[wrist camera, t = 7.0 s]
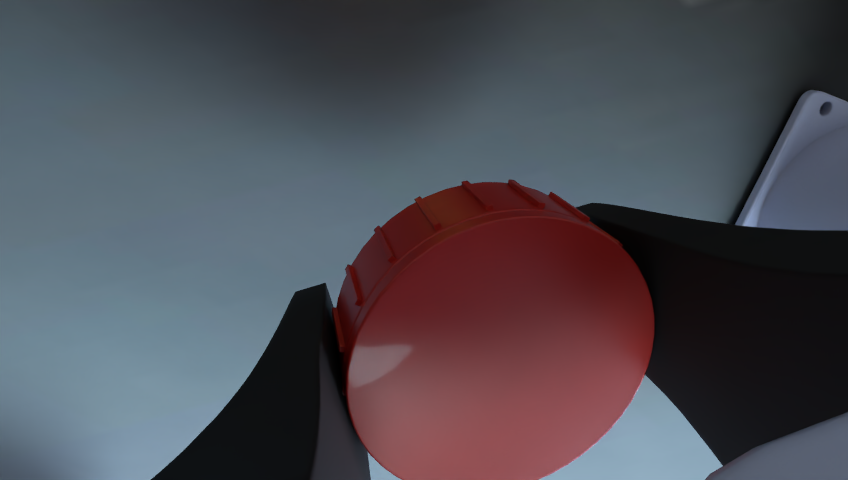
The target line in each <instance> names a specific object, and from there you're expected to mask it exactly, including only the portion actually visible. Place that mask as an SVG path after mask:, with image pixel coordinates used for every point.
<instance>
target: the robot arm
mask: <svg viewBox="0 0 848 480" xmlns="http://www.w3.org/2000/svg"><path fill="white" fill-rule="evenodd" d="M822 105H823V106H822ZM821 106H822V109H821V110H820V108H821ZM576 209H578V210H579V211H581V212H582V213H584V214H585V215H587V216H588V217H589V218H590V220H589V221H590V222H592V223H593V224H595V225H596V226H598V227H599V228H600V229H602V230H603V231H605V232H606V233H608V234H609V235H610V236H612V237H613V238H615V239H616V240H618V241H619V242H620V243H621V244H622V245H623V246H622V248H623V249H624V250H625V251H626V252H627V253H628V254H629V255H630V256H631V258H632V259H633V260H634V262H635V263H636V264H637V266H638V267H639V269H640V271H641V273H642V275H643V277H644V279H645V281H646V283H647V286H648V289H649V292H650V295H651V298H652V304H653V310H654V340H653V348H652V353H651V357H650V360H649V364H648V368H647V370H646V373H645V375H646V376H647V377H648V378H649V379H650V380H651V381H652V382H653V383H654V384H655V385H656V386H657V387H658V388H659V389H660V390H661V391H662V392H663V393H664V394H665V395H666V396H667V397H668V398H669V399H670V400H671V402H672V403H673V404H674V405H675V406H676V407H677V408H678V409H679V410H680V411H681V413H682V414H683V415H684V416H685V418H686V419H687V420H688V421H689V423H690V424H691V425H692V426H693V428H694V429H695V430H696V432H697V433H698V434H699V435H700V437H701V438H702V439H703V440H704V442H705V443H706V444H707V445H708V447H709V448H710V449H711V450H712V452H713V453H714V454H715V456H716V457H717V458H718V460H719V461H720V462H721V464H722V465H723V467H721V468H719V469H718V470H716V471H714V472H713V473H711V474H710V475H709V476H708V477H707V478H706V479H705V480H848V102H847V101H844V100H842V99H840V98H837V97H835V96H832V95H830V94H827V93H825V92H822V91H816V90H809V91H806V92H805V93H804V94H803V95H802V96H801V97H800V99H799V100H798V102H797V104H796V106H795V108H794V110H793V112H792V114H791V116H790V118H789V120H788V122H787V124H786V126H785V128H784V130H783V132H782V133H781V135H780V137H779V139H778V141H777V143H776V145H775V147H774V149H773V151H772V153H771V155H770V157H769V159H768V161H767V163H766V165H765V167H764V169H763V171H762V173H761V175H760V177H759V179H758V180H757V182H756V184H755V186H754V188H753V190H752V192H751V194H750V196H749V198H748V200H747V202H746V204H745V206H744V208H743V210H742V212H741V214H740V216H739V218H738V220H737V222H736V224H735V225H731V224H724V223H716V222H709V221H702V220H696V219H690V218H683V217H678V216H672V215H667V214H661V213H656V212H650V211H645V210H640V209H634V208H629V207H623V206H617V205H610V204H601V203H590V204H586V205H583V206H580V207H576ZM332 307H333V304H332V301H331V298H330V295H329V292H328V289H327V286H326V283H323V284H320V285H317V286H313V287H310V288H307V289H303V290H300V291H297V292H295V294H294V296H293V297H292V299H291V301H290V303H289V305H288V308H287V310H286V312H285V314H284V316H283V318H282V320H281V322H280V324H279V326H278V328H277V330H276V332H275V333H274V335H273V337H272V339H271V341H270V343H269V344H268V346H267V348H266V350H265V352H264V353H263V355H262V356H261V358H260V360H259V361H258V363H257V364H256V366H255V367H254V369H253V371H252V372H251V374H250V375H249V377H248V378H247V379H246V381H245V382H244V384H243V385H242V386H241V388H240V389H239V390H238V391H237V393H236V394H235V395H234V396H233V398H232V399H231V400H230V401H229V403H228V404H227V405H226V406H225V407H224V409H223V410H222V411H221V412H220V413H219V414H218V416H217V417H216V418H215V419H214V420H213V421H212V422H211V423H210V424H209V425H208V426H207V427H206V428H205V429H204V430H203V431H202V432H201V433H200V434H199V435H198V436H197V437H196V438H195V439H194V440H193V441H192V442H191V443H190V445H189V446H188V447H187V448H186V449H185V450H184V451H183V452H182V453H180V454H179V455H178V456H177V457H176V458H175V459H174V460H173V461H172V462H171V463H169V464H168V465H167V466H166V467H165V468H164V469H163V470H162V471H161V472H159V473H158V474H157V475H156V476H155V477H154V478H152V479H151V480H371V478H370V470H369V461H368V453H367V449H366V448H365V447H364V445H363V444H362V443H361V441H360V439H359V437H358V435H357V433H356V431H355V429H354V427H353V425H352V422H351V418H350V415H349V412H348V408H347V403H346V396H344V395H343V392H342V374H341V368H340V361H339V355H338V349H337V341H336V334H335V329H334V323H333V318H332V313H331V312H332Z"/></svg>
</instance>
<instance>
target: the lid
mask: <svg viewBox="0 0 848 480" xmlns="http://www.w3.org/2000/svg"><path fill="white" fill-rule="evenodd" d="M415 201H416V203H414V204H412V205H410V206H408V207H407V208H405V209H404V210H402V211H401V212H400V213H398V214H397V215H395V216H394V217H393V218H391V219H390V220H389V221H388V222H387V223H386V224H385V225H383V226H382V227H380V226H377V227H376V228H375V229H374V231H375V234H374V235H373V236H372V237H371V239H370V240H369V241H368V242H367V243H366V244H365V246H364V247H363V248H362V250H361V251H360V253H359V254H358V256H357V257H356V259H355V260H354V262H353V263H352V265H347V267H346V269H345V270H346V274H347V275H346V278H345V280H344V282H343V285H342V288H341V291H340V294H339V297H338V302H337V308H335V307H332V312H331V313H332V318H333V323H334V329H335V334H336V341H337V349H338V355H339V361H340V368H341V374H342V392H343V395H344V396H346V403H347V408H348V412H349V415H350V418H351V422H352V425H353V427H354V429H355V431H356V433H357V435H358V437H359V439H360V441H361V443H362V444H363V445H364V447H365V448H366V449H367V451H368V452H369V454H370V455H371V456H372V457H373V458H374V459H375V460H376V461H377V462H378V463H379V464H380V465H381V466H382V467H384V468H385V469H386V470H388V471H389V472H391V473H392V474H393V475H395V476H396V477H398V478H400V479H402V480H539V479H541V478H543V477H546V476H548V475H550V474H552V473H554V472H556V471H557V470H559V469H561V468H563V467H564V466H566V465H568V464H569V463H571V462H572V461H574V460H575V459H577V458H578V457H580V456H581V455H582V454H584V453H585V452H586V451H587V450H589V449H590V448H591V447H592V446H593V445H595V444H596V443H597V442H598V441H599V440H600V439H601V438H602V437H603V436H604V435H605V434H606V433H607V432H608V431H609V430H610V429H611V428H612V427H613V426H614V424H615V423H616V422H617V421H618V419H619V418H620V417H621V416H622V415H623V413H624V412H625V410H626V409H627V407H628V406H629V404H630V403H631V401H632V400H633V398H634V396H635V394H636V392H637V390H638V389H639V387H640V385H641V383H642V380H643V378H644V375H645V373H646V370H647V368H648V364H649V360H650V357H651V353H652V348H653V340H654V310H653V304H652V298H651V295H650V292H649V289H648V286H647V283H646V281H645V279H644V277H643V275H642V273H641V271H640V269H639V267H638V266H637V264H636V263H635V262H634V260H633V259H632V258H631V256H630V255H629V254H628V253H627V252H626V251H625V250H624V249H623V248H622V246H623V245H622V244H621V243H620V242H619V241H618V240H616V239H615V238H613V237H612V236H610V235H609V234H608V233H606V232H605V231H603V230H602V229H600V228H599V227H598V226H596V225H595V224H593V223H592V222H590V221H589V220H590V218H589V217H588V216H587V215H585V214H584V213H582V212H581V211H579V210H578V209H576V208H575V207H573V206H572V205H570V204H569V203H568V202H566V201H565V200H563V199H562V198H560V197H559V196H557V195H556V194H554V193H552V192H550V194H549V195H546V194H544V193H542V192H540V191H538V190H535V189H531V188H528V187H524V186H521V185H520V184H519V183H517V182H516V181H515V180H509V181H508V183H498V182H482V183H474V184H470V183H469V182H468V181H463V182H462V185H461V186H457V187H453V188H449V189H445V190H442V191H440V192H437V193H435V194H432V195H430V196H427V197H425V198H423V199H422V198H421V197H418V198H416V199H415Z"/></svg>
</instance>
